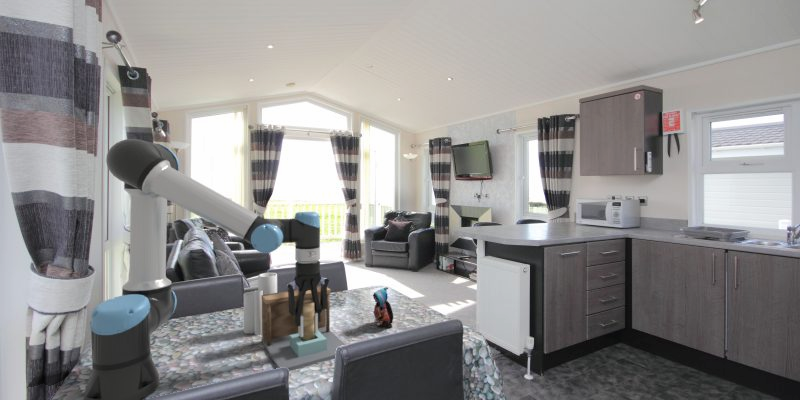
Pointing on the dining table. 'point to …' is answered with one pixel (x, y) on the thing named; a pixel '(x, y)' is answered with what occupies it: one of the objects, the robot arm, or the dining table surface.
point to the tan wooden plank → (287, 314)
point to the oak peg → (308, 320)
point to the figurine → (382, 309)
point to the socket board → (291, 357)
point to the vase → (257, 302)
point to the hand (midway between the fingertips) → (308, 333)
